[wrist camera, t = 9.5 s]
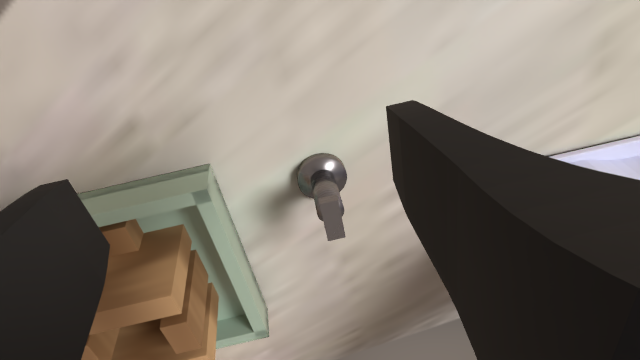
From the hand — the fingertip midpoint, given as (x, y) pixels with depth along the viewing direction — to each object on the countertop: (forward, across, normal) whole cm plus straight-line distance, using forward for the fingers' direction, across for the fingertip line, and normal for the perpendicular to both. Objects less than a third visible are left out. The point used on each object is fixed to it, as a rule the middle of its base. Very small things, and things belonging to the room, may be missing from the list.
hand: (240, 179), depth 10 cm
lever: (+9, -2, +7) cm, 12 cm away
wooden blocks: (+9, +8, +10) cm, 16 cm away
